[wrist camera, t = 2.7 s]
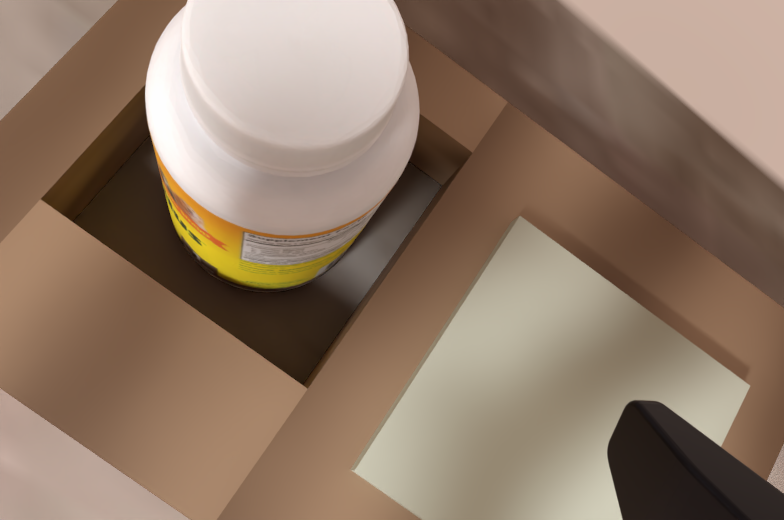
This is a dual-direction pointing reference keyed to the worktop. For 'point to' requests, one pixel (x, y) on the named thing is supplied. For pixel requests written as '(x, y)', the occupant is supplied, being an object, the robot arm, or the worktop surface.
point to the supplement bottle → (279, 130)
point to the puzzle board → (378, 323)
